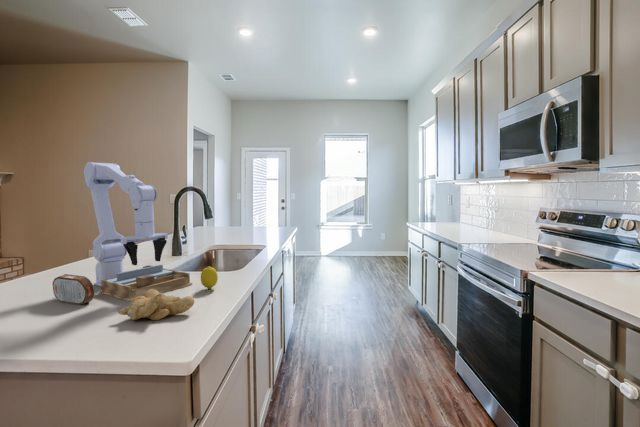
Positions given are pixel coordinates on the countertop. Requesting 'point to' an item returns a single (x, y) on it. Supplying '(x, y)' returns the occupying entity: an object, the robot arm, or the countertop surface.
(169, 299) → the ginger root
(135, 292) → the wooden tray
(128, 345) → the countertop surface
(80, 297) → the tin
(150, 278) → the block
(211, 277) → the lemon
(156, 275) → the lid
